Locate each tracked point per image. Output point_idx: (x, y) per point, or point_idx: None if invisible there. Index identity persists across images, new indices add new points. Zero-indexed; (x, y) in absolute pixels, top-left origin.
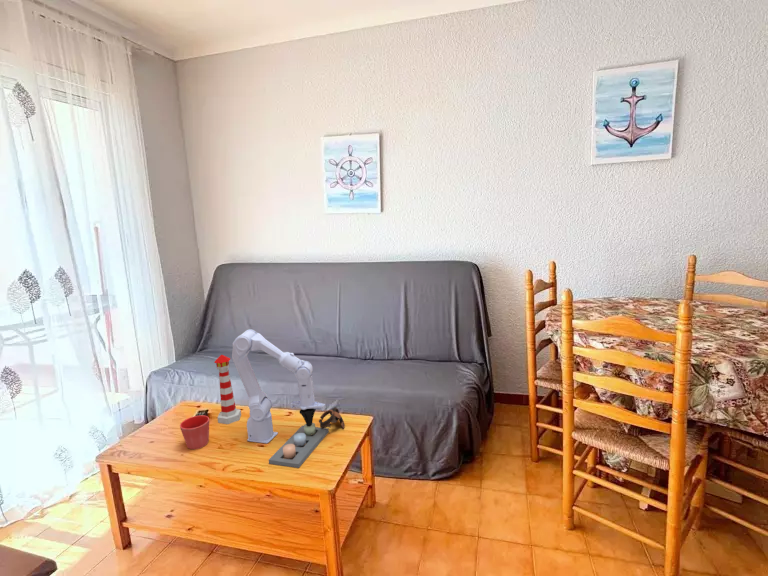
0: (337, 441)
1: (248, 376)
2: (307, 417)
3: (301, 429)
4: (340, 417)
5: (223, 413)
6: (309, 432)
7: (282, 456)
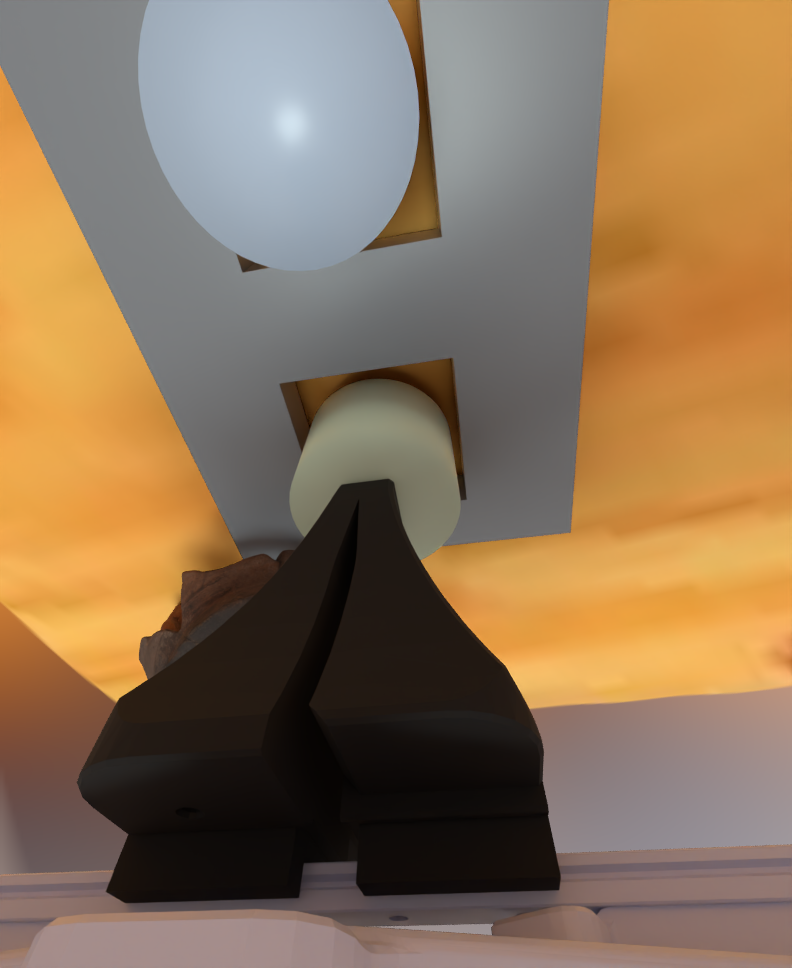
0: (25, 433)
1: None
2: (310, 595)
3: (532, 466)
4: None
5: None
6: (331, 410)
7: None
